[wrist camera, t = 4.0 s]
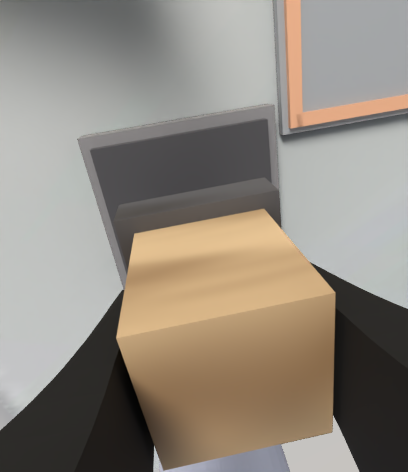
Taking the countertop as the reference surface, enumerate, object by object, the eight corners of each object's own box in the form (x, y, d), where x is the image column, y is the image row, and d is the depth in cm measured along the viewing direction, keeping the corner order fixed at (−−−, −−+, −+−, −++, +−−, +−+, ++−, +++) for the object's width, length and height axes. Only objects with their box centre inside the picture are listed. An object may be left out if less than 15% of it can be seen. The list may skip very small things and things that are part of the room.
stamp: (273, 296, 13) (352, 441, 8) (152, 321, 13) (147, 487, 8) (264, 177, 11) (363, 263, 6) (118, 204, 11) (78, 321, 6)
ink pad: (277, 263, 20) (286, 276, 18) (129, 292, 19) (126, 307, 18) (267, 103, 16) (277, 105, 14) (82, 135, 15) (74, 140, 14)
